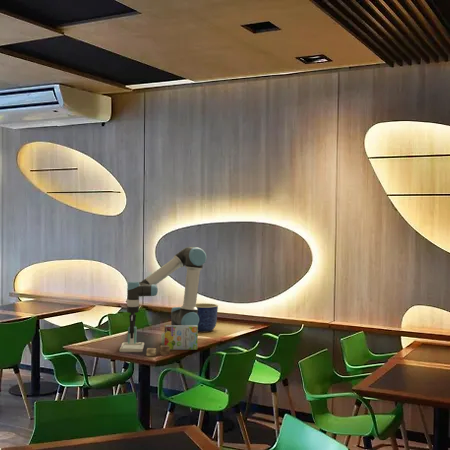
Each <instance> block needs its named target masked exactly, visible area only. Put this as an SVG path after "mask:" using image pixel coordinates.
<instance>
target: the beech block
mask: <svg viewBox="0 0 450 450" xmlns="http://www.w3.org/2000/svg"><path fill="white" fill-rule="evenodd" d="M156 355H157V348H155V347H147V348H146V356H147V357H155V356H156Z"/></svg>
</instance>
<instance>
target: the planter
mask: <svg viewBox="0 0 450 450" xmlns="http://www.w3.org/2000/svg"><path fill="white" fill-rule="evenodd" d="M196 307H197V309H198V312H197V315H198V316H199V323H198V332H202V333H205V332H211V331H213V330H214V329H215V327H216V325H217V322H218V321H217V319H218V311H219V310H218V309H219V305H218V304H215V303H206V302H205V303H204V302H203V303H202V302H201V303H196Z"/></svg>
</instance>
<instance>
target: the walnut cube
mask: <svg viewBox="0 0 450 450" xmlns="http://www.w3.org/2000/svg"><path fill="white" fill-rule="evenodd" d="M170 351H171V349H170V347H169V346H168V345H159V354H160V355H161V356H170V355H171V354H170Z"/></svg>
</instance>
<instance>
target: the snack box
mask: <svg viewBox="0 0 450 450" xmlns="http://www.w3.org/2000/svg"><path fill="white" fill-rule="evenodd" d="M164 333H165V338H164V345H168V346H169V347H170V350H173V351H174V350H175V351H176V350H179V351H180V350H182V351H183V350H185V351H186V350H187V351H188V350H191V351H192V350H193V351H195V350H198V340H199V339H198V335H199V334H198V333H199V331H198V325H171V324H167V325H166V324H164Z"/></svg>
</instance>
